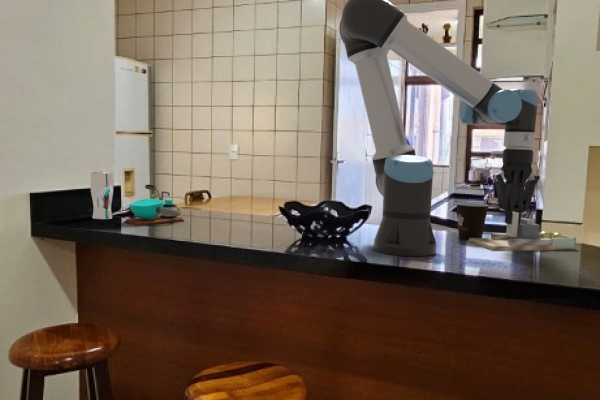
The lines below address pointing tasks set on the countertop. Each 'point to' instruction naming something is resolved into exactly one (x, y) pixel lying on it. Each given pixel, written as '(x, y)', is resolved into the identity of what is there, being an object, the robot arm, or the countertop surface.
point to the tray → (563, 242)
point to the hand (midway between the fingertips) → (511, 235)
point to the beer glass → (102, 194)
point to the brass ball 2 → (557, 235)
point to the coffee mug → (471, 220)
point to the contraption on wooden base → (154, 211)
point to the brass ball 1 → (544, 235)
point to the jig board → (512, 243)
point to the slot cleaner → (527, 230)
